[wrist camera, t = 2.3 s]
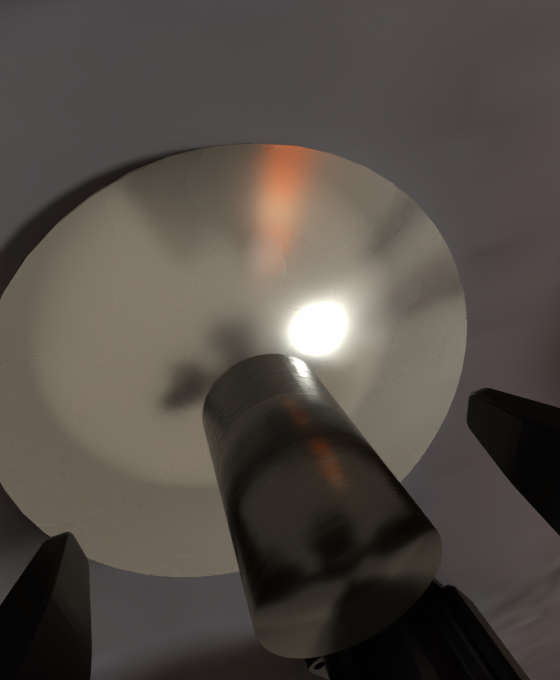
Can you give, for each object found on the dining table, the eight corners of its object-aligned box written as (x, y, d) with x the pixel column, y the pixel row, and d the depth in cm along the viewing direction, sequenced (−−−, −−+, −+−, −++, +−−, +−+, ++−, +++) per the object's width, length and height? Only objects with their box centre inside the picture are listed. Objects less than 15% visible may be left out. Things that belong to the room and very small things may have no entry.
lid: (232, 593, 15) (284, 828, 10) (-150, 416, 9) (-570, 832, 3) (495, 371, 14) (696, 501, 9) (295, -2, 8) (600, -258, 3)
